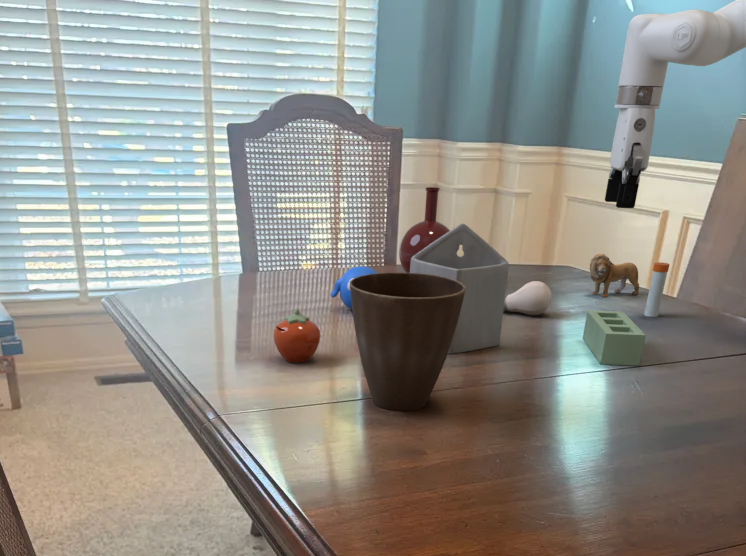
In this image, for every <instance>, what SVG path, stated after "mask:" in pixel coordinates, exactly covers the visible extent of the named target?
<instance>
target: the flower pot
mask: <svg viewBox="0 0 746 556" xmlns="http://www.w3.org/2000/svg"><path fill="white" fill-rule="evenodd" d="M350 290H351V300H352V310H351V311H352V318H353V325H354V332H355V337H356V343H357V348H358V352H359V357H360V361H361V365H362V366H361V367H362V370H363V373H364V374H363V375H364V377H365V381H366V384H367V387H368V390H369V393H370V396H371V400H372V402H373V403H374V404H375V405H376V406H378V407H380V408H383V409H386V410H390V411H396V412H409V411H410V412H411V411H416V410H419V409H421V408H423V407H424V406H425V405H427V402H428V400H429V398H430V396H431V394H432V393H433V390H434V388H435V386H436V384H437V381H438V379H439V377H440V374H441V372H442V369H443V367H444V365H445V362H446V359H447V356H448V355H449V354H448V351H449V348H450V345H451V342H452V339H453V336H454V333H455V330H456V326H457V323H458V319H459V315H460V311H461V307H462V303H463V299H464V294H465V290H466V287H465V285H464V284H463V283H461V282H459V281H456V280H453V279H450V278H446V277H441V276H436V275H429V274H420V273H406V272H377V273H376V274H368V275H363V276H359V277H356V278H354V279H352V280H351V281H350Z"/></svg>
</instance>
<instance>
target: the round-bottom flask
mask: <svg viewBox="0 0 746 556" xmlns="http://www.w3.org/2000/svg"><path fill="white" fill-rule="evenodd" d="M440 189H441V188H440V187H432V186H431V187H430V186H429V187H425V192H426V193H425V208H424V220H422V221H420V222H417V223H415V224H414V225H412V226H411V227H410V228H408V230H406V232H405V233H404V235H403V237H402V238H401V241H400V244H399V251H398V256H399V262H400V264H401V268H402V269H403V271H404V273H410V264H411V258H412V257H413V256H414V255H415V254H417V253H418V252H420V251H421V250H423V249H424V248H425V247H427V246H428V245H430V244H431V243H433V242H434V241H436V240H437V239H439V238H440V237H442V236H443V235H445V234H446V233H448V232H449V231H451V229H449V227H447V226H446V225H445V224H443V223H441V222H439V221H437V215H438V214H437V212H438V201H439V192H440Z"/></svg>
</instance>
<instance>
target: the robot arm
mask: <svg viewBox="0 0 746 556" xmlns="http://www.w3.org/2000/svg"><path fill="white" fill-rule="evenodd" d="M625 38H626V39H625V44H624V50H623V55H622V61H621V66H620V73H619V79H618V84H617V92H616V98H615V102H614V109H619V111H618V116H617V119H616V125H615V130H614V135H613V140H612V146H611V151H610V159H609V165H610V171H609V173H608V178H607V184H606V189H605V190H606V191H605V196H604V201H605V202H606V203H616V204H615V207H616V208H618V209H634V208H635V207H636V202H637V201H636V200H637V198H638V197H637V196H638V191H639V186H640V181H641V174H642V172H645V171H646V170H647V169H648V167H649V161H650V156H651V148H652V142H653V135H654V128H655V119H656V110H659V109H660V107H661V101H662V97H663V96H662V95H663V90H664V85H665V80H666V76H667V72H668V71H667V70H668V65H669V63H672V64H679V65H683V66H684V65H685V66H694V67H706V66H710V65H713V64H716V63H718V62H720V61H722V60H724V59H726V58H727V57H730V56H732V55H733V54H736V53H737V52H739V51H741V50H743V49H745V48H746V0H733V1H731V2H730V3H728V4H727V5H724V6H723V7H721V8H719V9H718V10H716V11H713V12H711V11H709V10H702V9H697V8H696V9H695V8H694V9H687V10H681V11H676V12H673V13H672V12H671V13H656V12H655V13H642V14H637V15H635V16H634V17H632V19H631V20H630V22H629V23H628V26H627V33H626V37H625Z"/></svg>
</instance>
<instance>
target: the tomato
mask: <svg viewBox="0 0 746 556" xmlns="http://www.w3.org/2000/svg"><path fill="white" fill-rule="evenodd" d="M273 341H274V344H275V348H276V349H277V351H278V352H279V354H280V356H281V357H282V358H283V359H284V360H285V361H286V362H287V363H294V364H296V363H297V364H299V363H305V362H307V361H309V360H310V359H311V358H312V357H313V356H314V355H315V353H316V352H317V350H318V347H319V344H320V342H321V331H320V328H319V326H318V325H317V324H316V323H315V322H313V321H311V320H310V317H309V316H306V315H304V314H301V312H300V309H298V308H296V309H294V310H293V314H289V315H287V316H285V317H284V318H283V320H282V321H280V322H278V323H277V325H276V326H275V327H274V330H273Z"/></svg>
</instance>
